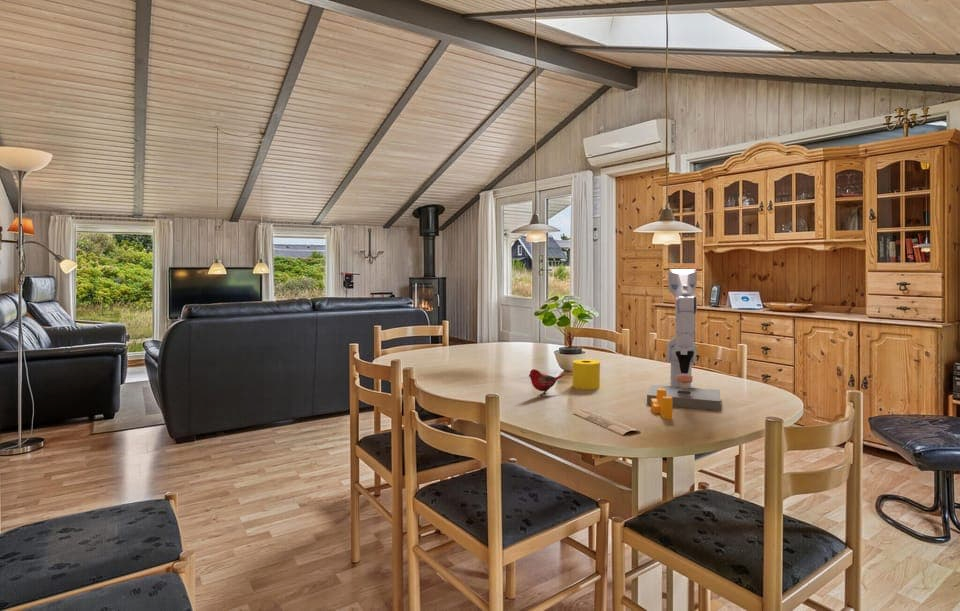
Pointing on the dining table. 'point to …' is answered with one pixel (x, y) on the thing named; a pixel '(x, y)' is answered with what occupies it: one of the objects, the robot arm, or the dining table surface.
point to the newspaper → (605, 421)
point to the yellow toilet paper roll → (586, 374)
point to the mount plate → (688, 397)
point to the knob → (684, 380)
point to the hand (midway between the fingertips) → (684, 373)
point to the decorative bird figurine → (542, 381)
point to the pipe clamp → (662, 404)
